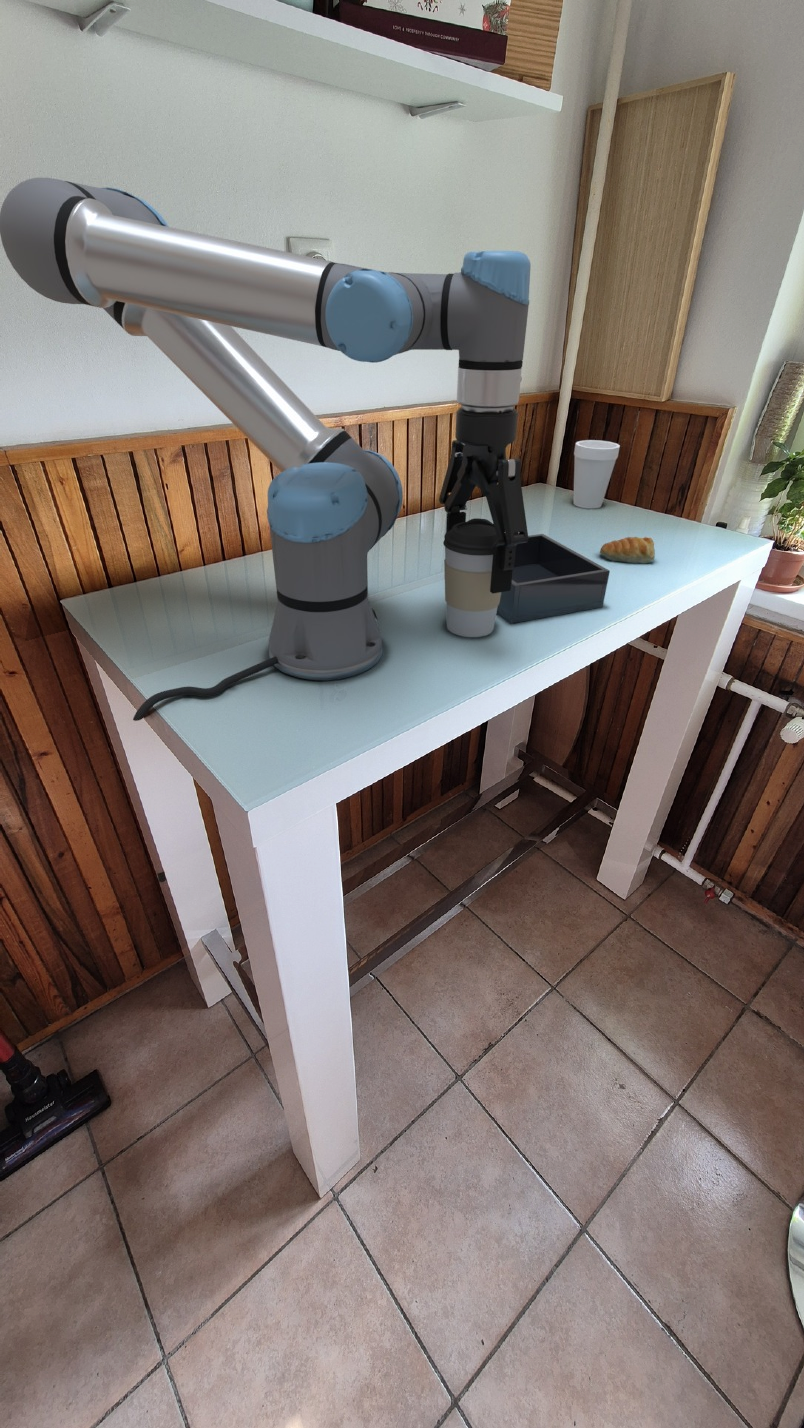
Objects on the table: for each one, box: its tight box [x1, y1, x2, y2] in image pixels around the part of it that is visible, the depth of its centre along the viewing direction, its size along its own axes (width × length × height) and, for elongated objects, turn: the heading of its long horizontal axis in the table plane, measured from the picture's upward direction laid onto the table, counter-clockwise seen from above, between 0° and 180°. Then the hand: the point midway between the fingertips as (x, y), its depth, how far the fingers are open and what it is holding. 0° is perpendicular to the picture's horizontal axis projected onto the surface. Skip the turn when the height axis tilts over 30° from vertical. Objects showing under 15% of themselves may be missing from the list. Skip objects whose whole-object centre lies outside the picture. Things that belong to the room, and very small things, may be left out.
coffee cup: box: [442, 517, 501, 638], centre depth 91 cm, size 9×9×15 cm
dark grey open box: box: [496, 533, 611, 625], centre depth 104 cm, size 17×19×6 cm
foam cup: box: [572, 439, 621, 509], centre depth 145 cm, size 10×9×13 cm
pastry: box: [599, 536, 656, 564], centre depth 119 cm, size 9×7×4 cm
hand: (475, 573), depth 90 cm, fingers open, 13 cm apart
